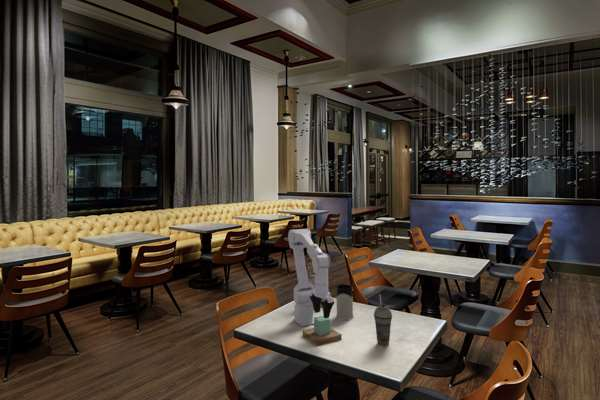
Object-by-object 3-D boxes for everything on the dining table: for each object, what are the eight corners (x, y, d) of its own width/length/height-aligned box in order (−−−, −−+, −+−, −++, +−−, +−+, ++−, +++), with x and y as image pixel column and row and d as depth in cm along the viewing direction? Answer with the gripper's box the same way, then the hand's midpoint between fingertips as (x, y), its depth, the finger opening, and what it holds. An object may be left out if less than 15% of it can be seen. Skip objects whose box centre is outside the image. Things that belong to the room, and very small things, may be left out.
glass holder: (334, 319, 174) (334, 288, 173) (338, 309, 188) (337, 281, 187) (353, 320, 172) (352, 289, 172) (355, 310, 186) (354, 281, 185)
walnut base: (302, 335, 156) (302, 330, 156) (326, 329, 162) (326, 325, 162) (316, 345, 146) (316, 340, 145) (341, 339, 151) (341, 334, 151)
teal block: (314, 331, 155) (313, 317, 155) (324, 329, 157) (323, 315, 157) (320, 335, 150) (320, 321, 150) (330, 333, 153) (330, 319, 152)
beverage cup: (389, 349, 141) (388, 298, 140) (371, 345, 145) (370, 295, 144) (394, 342, 147) (394, 293, 147) (377, 338, 151) (377, 291, 150)
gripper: (339, 285, 148) (339, 318, 149) (320, 278, 161) (321, 308, 162) (324, 288, 145) (324, 321, 146) (306, 280, 158) (307, 311, 158)
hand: (321, 315), depth 153 cm, fingers open, 7 cm apart
